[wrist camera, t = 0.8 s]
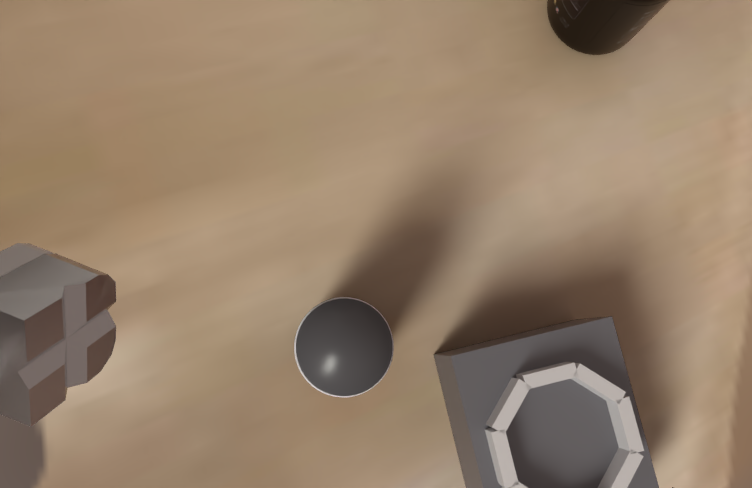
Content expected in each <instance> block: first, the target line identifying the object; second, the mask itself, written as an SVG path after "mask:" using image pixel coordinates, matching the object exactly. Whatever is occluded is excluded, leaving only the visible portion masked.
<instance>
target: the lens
mask: <svg viewBox="0 0 752 488" xmlns="http://www.w3.org/2000/svg"><path fill="white" fill-rule="evenodd" d="M393 349H394V346H393V337H392V333H391V330H390V327H389V325H388V323H387V321H386V320H385V318H384V317H383V316H382V314H381V313H380V312H379V311H378V310H377V309H376V308H374V307H373V306H372V305H370V304H368V303H367V302H365V301H362V300H359V299H356V298H350V297H338V298H332V299H329V300H326V301H324V302H322V303H320V304H318V305H317V306H315V307H314V308H313V309H311V310H310V311H309V312H308V313H307V314H306V316H305V317H304V318H303V320H302V321H301V323H300V325H299V327H298V330H297V332H296V337H295V343H294V353H295V359H296V362H297V365H298V368H299V370H300V372H301V374H302V375H303V377H304V378H305V379H306V380H307V382H308V383H309V384H310V385H312V386H313V387H314V388H315V389H317V390H318V391H320V392H322V393H324V394H327V395H330V396H334V397H353V396H357V395H360V394H363V393H365V392H367V391H369V390H370V389H372V388H373V387H374V386H376V385H377V384H378V383H379V382H380V381H381V380H382V379H383V377H384V376H385V374H386V373H387V371H388V369H389V367H390V364H391V361H392V357H393Z"/></svg>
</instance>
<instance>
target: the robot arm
mask: <svg viewBox="0 0 752 488" xmlns="http://www.w3.org/2000/svg"><path fill="white" fill-rule="evenodd" d="M115 302H116V284H115V281H114V280H113V279H112V278H111V277H110V276H109V275H108V274H105V273H103V272H100V271H98V270H95V269H93V268H90V267H88V266H85V265H83V264H80V263H78V262H76V261H73V260H71V259H68V258H66V257H63V256H61V255H58V254H54V253H52V252H50V251H47V250H45V249H42V248H40V247H37V246H34V245H32V244H26V243H17V244H15V245H13V246H11V247H9V248H7V249H5V250H3V251H1V252H0V414H1V415H3V416H6V417H8V418H10V419H13V420H15V421H18V422H20V423H23V424H25V425H28V426H30V427H32V426H33V425H34V424H35V423H37V422H38V421H39V420H41V419H42V418H43V417H44V416H46V415H47V414H48V413H49V412H51V411H52V410H53V409H55V408H56V407H57V406H58V405H60V404H61V403H62V402H63V401H65V399H66V393H67V388H68V387H72V386H76V385H80V384H84V383H87V382H89V381H90V380H91V379H92V378H93V377H94V376H96V375H97V374H98V373H99V372H100V371H101V370H102V369H103V367H104V365H105V364H106V362H107V361H108V359H109V358H110V356H111V355H112V351H113V347H114V344H115V340H116V325H115V323H114V321H113V320H112V318H111V316H110V314H109V312H108V309H109V308H110V307H111V306H112V305H113V304H114V303H115ZM672 488H673V487H672Z"/></svg>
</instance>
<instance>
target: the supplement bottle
mask: <svg viewBox="0 0 752 488" xmlns="http://www.w3.org/2000/svg"><path fill="white" fill-rule="evenodd" d="M668 1H669V0H548V3H547V12H548V18H549V21H550V24H551V26H552V28H553V30H554V32H555V33H556V35H557V36H558V37H559V38H560V40H561V41H563V42H564V43H565V44H566V45H567V46H569V47H570V48H572V49H574V50H576V51H579V52H582V53H585V54H591V55H601V54H607V53H610V52H613V51H616V50H618V49H620V48H621V47H623V46H624V45H625V44H626V43H628V42H629V41H630V40H631V39H632V38H633V37H634V36H635V35H636V34H637V33H638V32H639V31H640V30H641V29H642V28H643V27H644V26H645V25H646V24H647V23H648V22H649V21H650V20H651V19H652V18H653V17H654V16H655V15H656V14H657V13H658V12H659V11H660V10H661V9H662V8H663V7H664V6H665V5H666V3H667V2H668Z"/></svg>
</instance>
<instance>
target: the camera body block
mask: <svg viewBox="0 0 752 488" xmlns="http://www.w3.org/2000/svg"><path fill="white" fill-rule="evenodd" d="M434 358H435V362H436V366H437V371H438V375H439V379H440V383H441V387H442V391H443V395H444V399H445V403H446V407H447V412H448V416H449V420H450V424H451V428H452V432H453V436H454V440H455V444H456V448H457V453H458V457H459V461H460V465H461V469H462V473H463V477H464V481H465V485H466V488H659V486H658V482H657V478H656V475H655V471H654V468H653V464H652V460H651V457H650V453H649V449H648V446H647V442H646V438H645V435H644V431H643V428H642V424H641V420H640V417H639V413H638V409H637V406H636V402H635V398H634V395H633V391H632V388H631V384H630V380H629V377H628V373H627V369H626V366H625V362H624V358H623V355H622V351H621V348H620V344H619V340H618V337H617V333H616V329H615V326H614V322H613V318H612V316H611V317H600V318H589V319H577V320H572V321H568V322H564V323H560V324H556V325H552V326H548V327H544V328H540V329H535V330H531V331H527V332H523V333H519V334H515V335H511V336H507V337H503V338H499V339H495V340H491V341H487V342H483V343H478V344H474V345H470V346H466V347H462V348H458V349H454V350H450V351H446V352H442V353H438V354H434Z"/></svg>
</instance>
